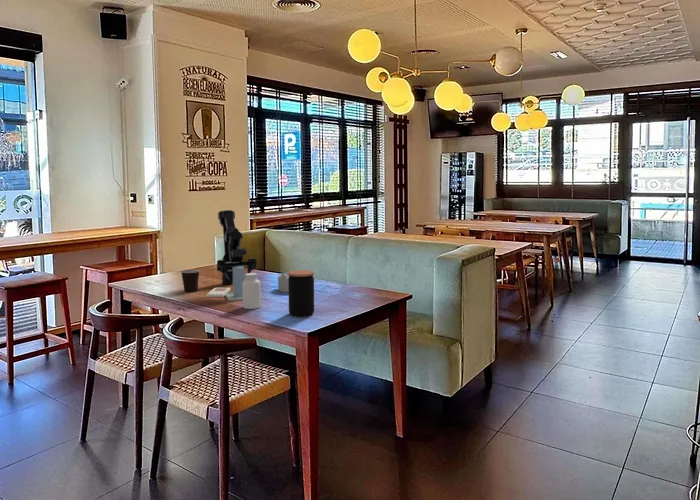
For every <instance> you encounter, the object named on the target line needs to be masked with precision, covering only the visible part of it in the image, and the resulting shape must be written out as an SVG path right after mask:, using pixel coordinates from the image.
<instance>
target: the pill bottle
mask: <svg viewBox="0 0 700 500" xmlns="http://www.w3.org/2000/svg"><path fill="white" fill-rule="evenodd" d="M261 284H262V283H261V281H260V279H258V273H255V272H250V273H247V272H246V273H245V280H244V281H243V283H242V290H243V300H242V308H244V309H246V310H255V309H256V310H257V309H260V308H261V307H262V291H261V290H262V287H261Z"/></svg>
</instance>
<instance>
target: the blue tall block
mask: <svg viewBox="0 0 700 500" xmlns="http://www.w3.org/2000/svg"><path fill="white" fill-rule="evenodd" d="M232 270H233V284H232V293H233V296H234V298H236V297H243V290H242V283H243V281H244V280H246V279H245V274H246V273H245V266H239V267H232Z"/></svg>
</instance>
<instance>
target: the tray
mask: <svg viewBox="0 0 700 500" xmlns="http://www.w3.org/2000/svg"><path fill="white" fill-rule="evenodd" d="M224 297H226V300H227V301H228V302H232V301H243V297H236V298H234V296H233V292H228V293H225V296H224Z"/></svg>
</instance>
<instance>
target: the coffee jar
mask: <svg viewBox="0 0 700 500" xmlns="http://www.w3.org/2000/svg"><path fill="white" fill-rule="evenodd" d="M287 272H288V274H289V276H290V277H289V278H288V284H289V293H288V312H289V315H290V316H292V317H295V316H296V317H297V318H304V316H306V317H310V316H309V315H311V316H313V314H314V312H315V277H314V275H315V272H314V271H313V270H310V269H307V270H306V269H297V270H295V269H294V270H290V271H287Z"/></svg>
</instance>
